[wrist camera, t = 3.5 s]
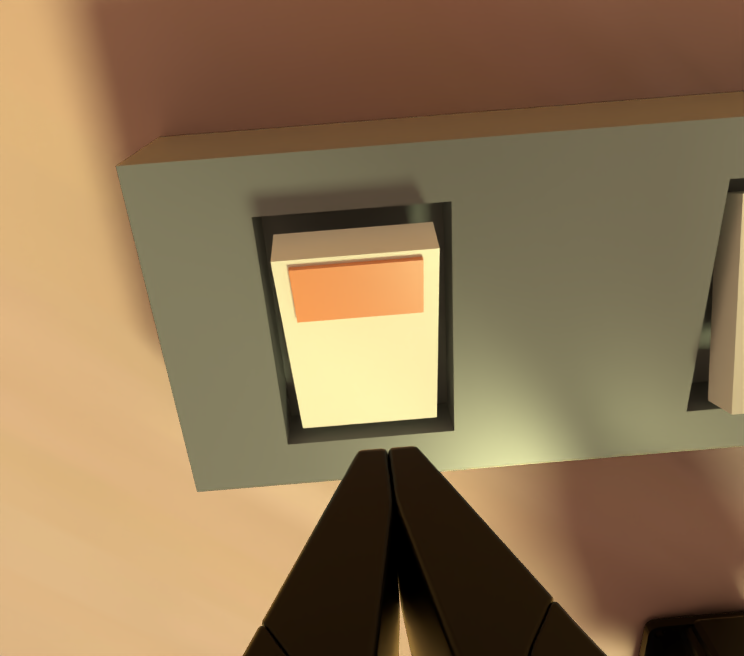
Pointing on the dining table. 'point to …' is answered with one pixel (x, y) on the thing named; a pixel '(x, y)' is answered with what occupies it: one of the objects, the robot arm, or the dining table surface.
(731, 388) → the rocker
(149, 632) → the dining table surface
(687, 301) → the grey rocker switch panel
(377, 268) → the rocker
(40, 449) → the dining table surface
